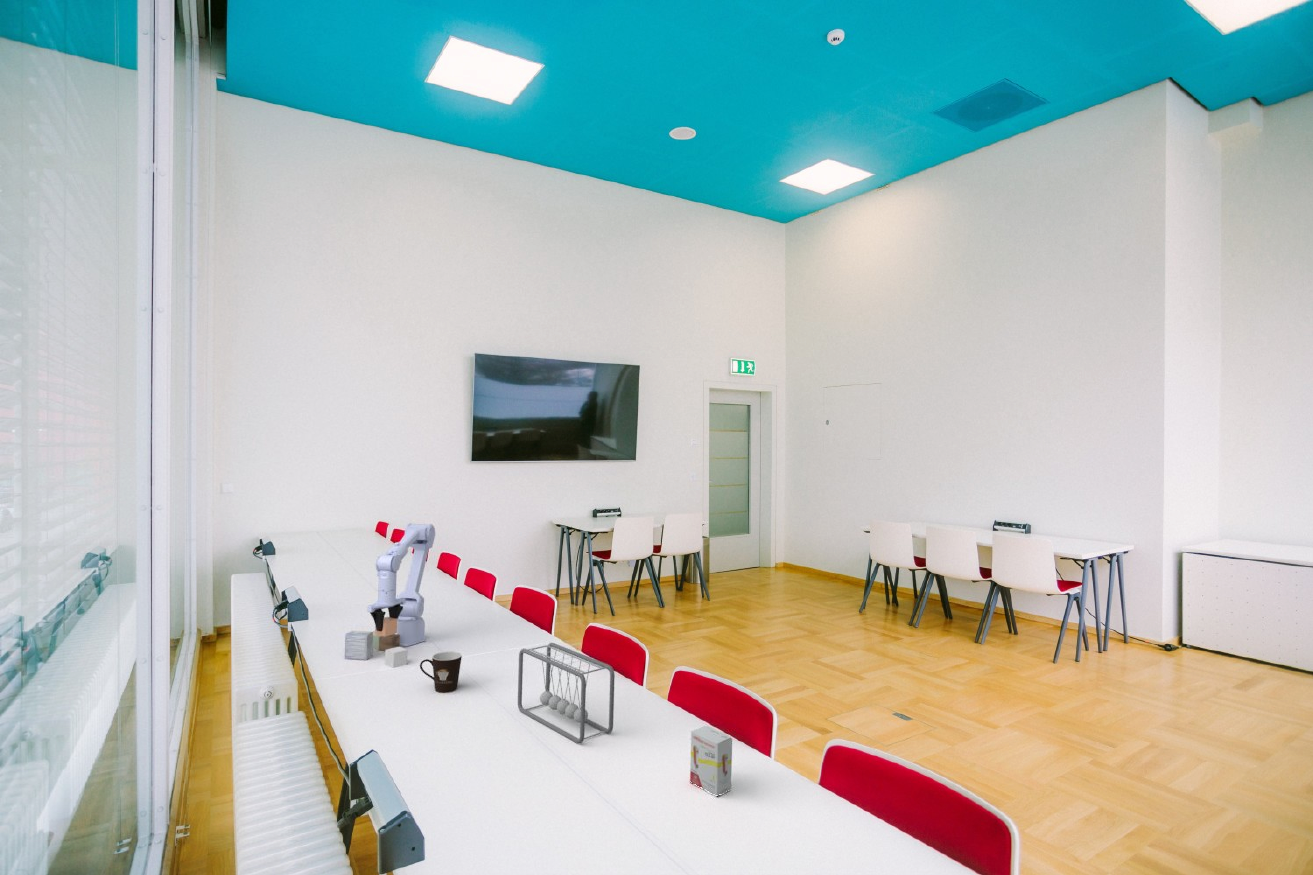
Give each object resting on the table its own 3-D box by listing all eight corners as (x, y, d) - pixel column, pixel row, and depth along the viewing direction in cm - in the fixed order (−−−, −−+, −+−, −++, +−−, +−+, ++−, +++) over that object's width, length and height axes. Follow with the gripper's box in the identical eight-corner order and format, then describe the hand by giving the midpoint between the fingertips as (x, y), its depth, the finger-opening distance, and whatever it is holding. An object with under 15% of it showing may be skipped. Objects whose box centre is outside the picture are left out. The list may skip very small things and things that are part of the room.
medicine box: (372, 656, 234) (373, 631, 235) (366, 660, 230) (366, 634, 230) (351, 655, 235) (351, 630, 235) (344, 659, 231) (344, 633, 231)
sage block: (373, 644, 248) (373, 631, 248) (387, 645, 248) (387, 631, 248) (367, 648, 243) (368, 634, 243) (382, 649, 243) (382, 635, 243)
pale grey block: (398, 661, 230) (399, 646, 230) (407, 664, 227) (407, 649, 227) (385, 664, 226) (385, 649, 227) (393, 668, 223) (393, 652, 223)
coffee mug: (466, 687, 208) (467, 654, 208) (447, 696, 200) (448, 662, 200) (437, 680, 213) (438, 648, 213) (417, 689, 205) (418, 655, 205)
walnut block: (387, 647, 246) (387, 633, 246) (399, 648, 245) (399, 634, 245) (378, 651, 241) (379, 636, 241) (391, 652, 240) (391, 638, 240)
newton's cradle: (516, 710, 191) (518, 647, 191) (547, 701, 198) (549, 640, 198) (581, 746, 169) (583, 675, 169) (613, 735, 176) (615, 666, 176)
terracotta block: (386, 630, 239) (387, 616, 239) (396, 633, 236) (397, 618, 236) (375, 634, 234) (375, 619, 234) (385, 636, 232) (385, 621, 232)
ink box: (688, 782, 152) (689, 729, 152) (704, 776, 156) (705, 724, 156) (716, 798, 146) (717, 742, 146) (731, 790, 149) (733, 736, 149)
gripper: (396, 584, 244) (394, 622, 244) (361, 591, 231) (360, 631, 231) (410, 586, 240) (408, 625, 240) (375, 594, 228) (374, 635, 227)
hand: (386, 628), depth 235 cm, fingers closed on terracotta block, 5 cm apart
